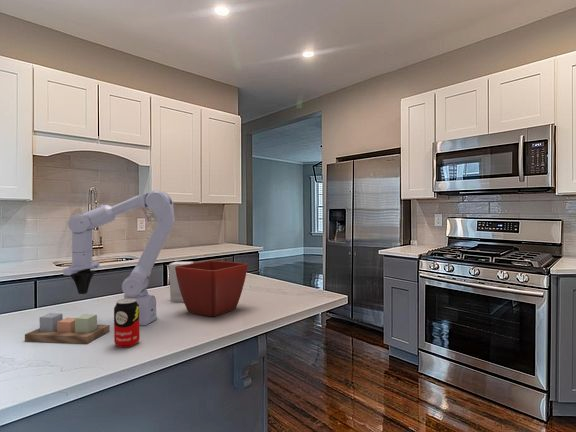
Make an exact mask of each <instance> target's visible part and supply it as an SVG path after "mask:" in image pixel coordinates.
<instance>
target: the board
mask: <svg viewBox="0 0 576 432" xmlns="http://www.w3.org/2000/svg"><path fill="white" fill-rule="evenodd" d="M110 328H111V327H110V324H97V329H96V330H94V331H92V332H90V333H75V331H73V332H71V333H69V332H57V330H56V331H54V332H41V331H40V327H38V328H37V329H35V330H32V331H29V332H27V333H24V342H30V343H31V342H32V343H36V342H37V343H54V344H55V343H56V344H58V343H59V344H60V343H61V344H79V345H80V344H81V345H82V344H83V345H85V344H86V345H88V344H91V342H93V341H95V340H97V339H99V338H100V337H103V336H104V335H106V334H109V333H110V330H111V329H110Z"/></svg>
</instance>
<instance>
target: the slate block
mask: <svg viewBox="0 0 576 432" xmlns="http://www.w3.org/2000/svg"><path fill="white" fill-rule="evenodd" d="M63 316H64V315H63V313H56V312H55V313H53V312H50V313H47V314H44V315H41V316H39V328H40V331H41V332H54V331H56V330H57V322H58V321H61V320H63V319H64V318H63Z"/></svg>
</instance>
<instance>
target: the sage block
mask: <svg viewBox="0 0 576 432" xmlns="http://www.w3.org/2000/svg"><path fill="white" fill-rule="evenodd" d="M74 318H75V333H90V332H92V331H94V330H96V329H97V325H98V314H91V313H90V314H88V313H85V314H82V315H79V316H76V317H74Z"/></svg>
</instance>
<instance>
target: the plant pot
mask: <svg viewBox="0 0 576 432" xmlns="http://www.w3.org/2000/svg"><path fill="white" fill-rule="evenodd" d="M175 270H176V276H177V280H178V285H179V288H180V292H181V295H182V298H183V301H184V302H183V303H184V305H185V307H186V311H187V312H188V313H191V314H197V315H202V316H206V317H207V316H208V317H216V316H219V315H220V316H221V315H222V314H224V313H228V312H232V311H234V310H236V309H237V307H238V304H239V301H240V299H241V295H242V292H243V289H244V286H245V282H246V281H245V280H246V276H247V271H248V263H245V262H234V261H220V260H207V261H205V260H204V261H200V262H193V264H187V265H181V266H176V267H175Z"/></svg>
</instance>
